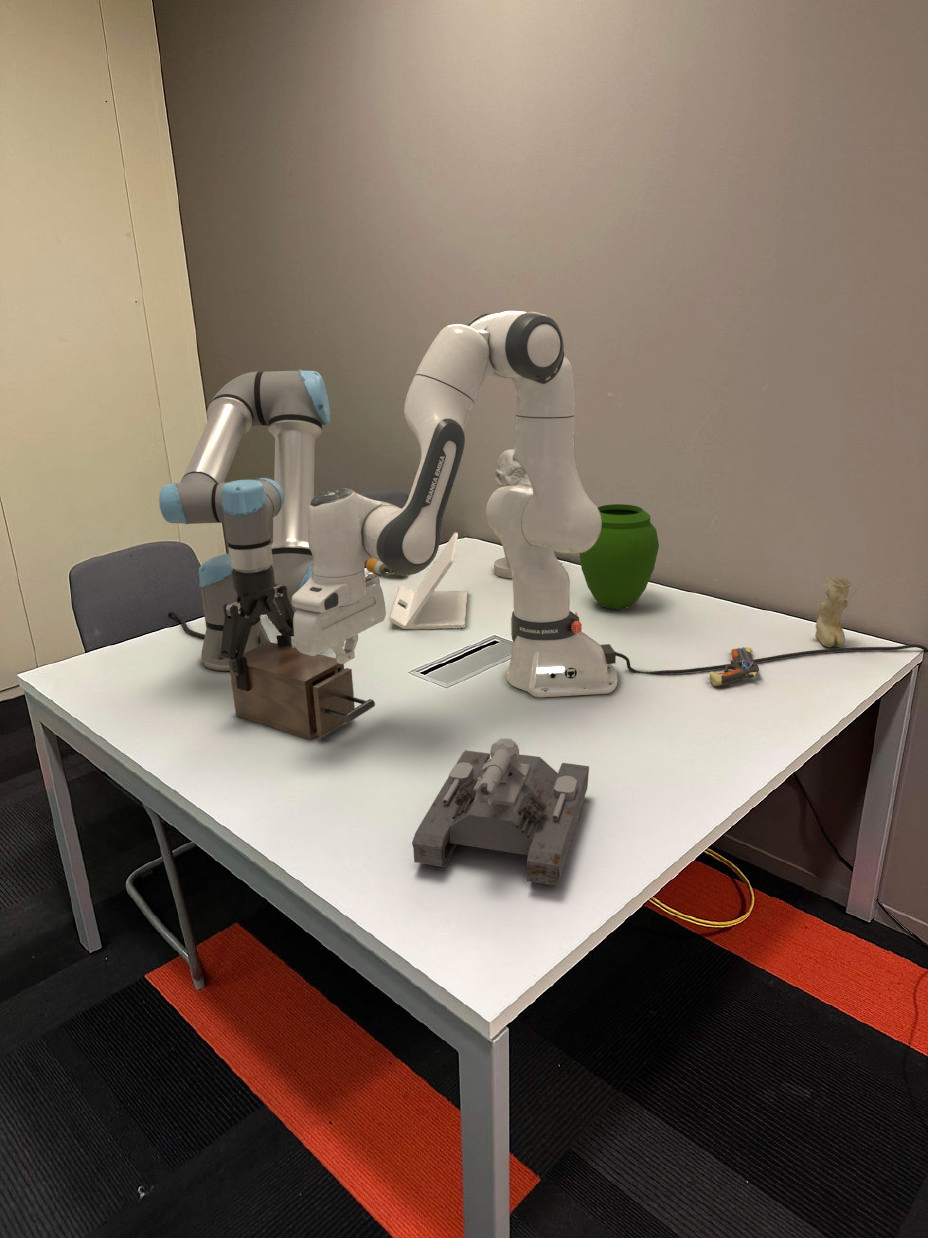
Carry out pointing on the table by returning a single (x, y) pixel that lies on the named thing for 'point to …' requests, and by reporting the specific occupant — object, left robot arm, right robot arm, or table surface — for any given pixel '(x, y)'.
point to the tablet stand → (431, 599)
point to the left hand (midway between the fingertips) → (265, 678)
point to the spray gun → (378, 567)
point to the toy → (505, 810)
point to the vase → (621, 556)
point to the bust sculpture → (508, 475)
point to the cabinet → (281, 687)
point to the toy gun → (736, 667)
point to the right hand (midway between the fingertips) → (345, 661)
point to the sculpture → (832, 613)
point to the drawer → (335, 701)
